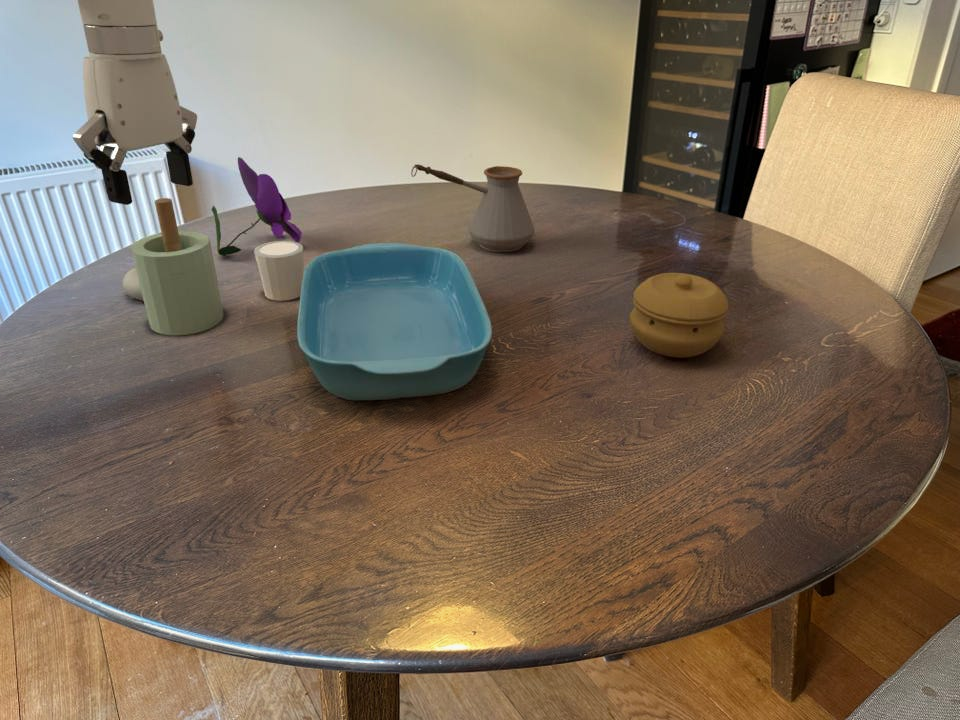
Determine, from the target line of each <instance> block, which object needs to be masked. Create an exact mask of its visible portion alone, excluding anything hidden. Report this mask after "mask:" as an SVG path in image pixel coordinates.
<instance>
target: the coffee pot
mask: <svg viewBox="0 0 960 720" xmlns="http://www.w3.org/2000/svg"><path fill="white" fill-rule="evenodd" d="M414 169H415V173H414V174H413V172H414ZM418 171H420V172H424V173H425V174H426V175H432V176H434V177H435V178H437V179H440V180H443V181H446V182H449V183H454V184H456V185H460V186H464V187H467V188H469V189H472V190H475V191H477V192H480V193H482V195H481V197H480V200H479V202H478V205H477V206H476V209H475V211H474V213H473V215H472V217H471V220H470V222H469V225H468V229H467V230H468V233H469V235H470V237H471V239H472V240H473V241H474V242H475V243H476V244H478V246H479V247H480V248H481V249H484V250H486V251H489V252H494V253H508V252H509V253H510V252H514V251H518V250H520V249H521V248H522V247H523V246H524V245H526V244H527V243H528V242H529V241H530V240H531V239H532V238H533V235H534V233H535V226H534V223H533V221H532V218H531V215H530V213H529V210H528V208H527V205H526V202H525V199H524V197H523V194H522V191H521V188H520V186H519V180H520V177H521V176H522V175H523V171H522V170H521V169H519V168H518V167H512V166H502V165H501V166H500V165H495V166H491V167H488V168H486V169H484V170H483V174H484V176H486V181H487V184H486V186H482V185H479V184H476V183H474V182H473V183H472V182H469V181H466V180H464V179H462V178H460V177H457V176H455V175H452V174H450V173H447V172H446V171H443V170H438V169H433V168H431V166H423V165H422V164H414V165H413V167H412V168H411V172H410V175H411V177H412V178H415V176H416V175H417V173H418Z"/></svg>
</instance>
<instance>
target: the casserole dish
mask: <svg viewBox="0 0 960 720" xmlns="http://www.w3.org/2000/svg"><path fill="white" fill-rule="evenodd" d="M296 326H297V327H296V328H297V329H296V335H297V342H298V346H299V348H300V350H301V351H302V353H303V354H304V357H305V359H306V361H307V363H308V365H309V367H310V369H311V370H312V372H313V374H314V376H315V377H316V379H317V381H318V382H319V383H320V385H321V386H322V387H323V388H324V389H325V390H326V391H327V392H329V393H330V394H333V395H334V396H336V397H339V398H341V399H344V400H348V401H360V402H361V401H385V400H386V401H388V400H396V399H397V400H398V399H401V398H405V399H407V398H418V397H427V396H436V395H442V394H447V393H451V392H453V391H456V390H458V389H461V388H463V387H465V385H467V384H468V383H470V382H471V381H472V380H473V378H474V376H476V374H477V372H478V370H479V368H480V366H481V364H482V361H483V359H484V357H485V354H486V352H487V349H488V347H489V345H490V343H491V340H492V337H493V329H492V328H493V327H492V322H491V319H490V315H489V313H488V310H487V308H486V306H485V302H484V301H483V299H482V296H481V294H480V292H479V289H478V287H477V285H476V282H475V280H474V278H473V276H472V274H471V272H470V270H469V268H468V266H467V264H466V263H465V261H464V260H463V259H462V258H461V257H460V256H459V255H458V254H456V253H455V252H454V251H451V250H448V249H445V248H441V247H434V246H433V247H432V246H423V245H422V246H421V245H414V244H409V243H400V242H378V243H374V242H373V243H367V244H360V245H356V246H353V247H350V248H346V249H345V248H344V249H340V250H338V249H337V250H333V251H328V252H325V253H322V254H319V255H318V256H316V257H314V258H313V259H311V260H310V262H309V263H307V265H306V267H305V269H304V275H303V279H302V286H301V295H300V297H299V306H298V313H297V323H296Z"/></svg>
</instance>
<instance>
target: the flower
mask: <svg viewBox="0 0 960 720" xmlns="http://www.w3.org/2000/svg"><path fill="white" fill-rule="evenodd" d="M237 166H238V171H239V175H240V177H241V178H240V179H241V180H242V183H243V185H244V188H245V190H246V192H247V194H248V196H249V197H250V199H251V202H253V203H254V207H255V208H256V214H257V216H258V219H257V220H256V221H255V222H254V223H253V222H251V226H250V227H248V228H247V229H245V230H243V231H242V232H240V233H238V234H237V235H236V236H235V238H234V239H233V240H231V242H229V244H227V245H226V246H223V247H221V239H222V238H221V234H222V233H221V221H220V218H219V216H218V210H217V208H216V206H215V205H213V206H212V207H211V212H212V214H213V216H214V222H215V232H216V234H215V235H216V246H217V254H218V255H219V256H222V257H226V258H228V256H230V255H234V254H237V253H239V252H241V251H242V249H241V248H239V247H238V246H235V245H232V244H233V243H234V242H235V241H236V240H237V239H238V238H239V237H240V236H242V235H244V234H245V235H247V231H250V230H251V229H253V228H254V227H256V225H257V223H259V222H260V221H261V222H263V223H264V224H266V225H268V226H270V230H271V232H272V234H273V236H274V237H277V238H283V236H284V232H285V233H286V234H287V235H289V237H291V238H292V240H293V241H294V242H297V243H300V242H301V239H302V235H303V232H302V231H301V229H300V228H299V227H298V226H297V225H296V224H295V223H292V222H290V221H291V219H292V213H291V211H290V208H289V206H288V204H287V202H286V201H285V198H284V196H283V195H282V193H280V190H279V187H278V185H277V183H276V182H275V180H274V179H273V177H272V176H270V175H269V174H267V173H259V174H258V173H257V172H256V171H255V170H254V169H253V168H251V167H250V165H248V164H247V162H246V161H245V160H244V159H243V157H239V156H238V157H237ZM300 244H301V243H300Z"/></svg>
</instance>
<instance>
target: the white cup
mask: <svg viewBox="0 0 960 720" xmlns="http://www.w3.org/2000/svg"><path fill="white" fill-rule="evenodd" d="M253 253H254V257H255V261H256V264H257V268H258V273H259V276H260V281H261V284H262V288H263V293H264V295H265V297H266V298H267V299H269V300H272V301H278V302H283V301H290V300H295V299H297V298H300V295H301V286H302V279H303V275H304V271H305V269H304V245H303V244H301V243H297V242H295V241H294V240H293V241H292V240H274V241H269V242H265V243H262V244H260V245H257V246H256V247H255V248H254V251H253Z"/></svg>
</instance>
